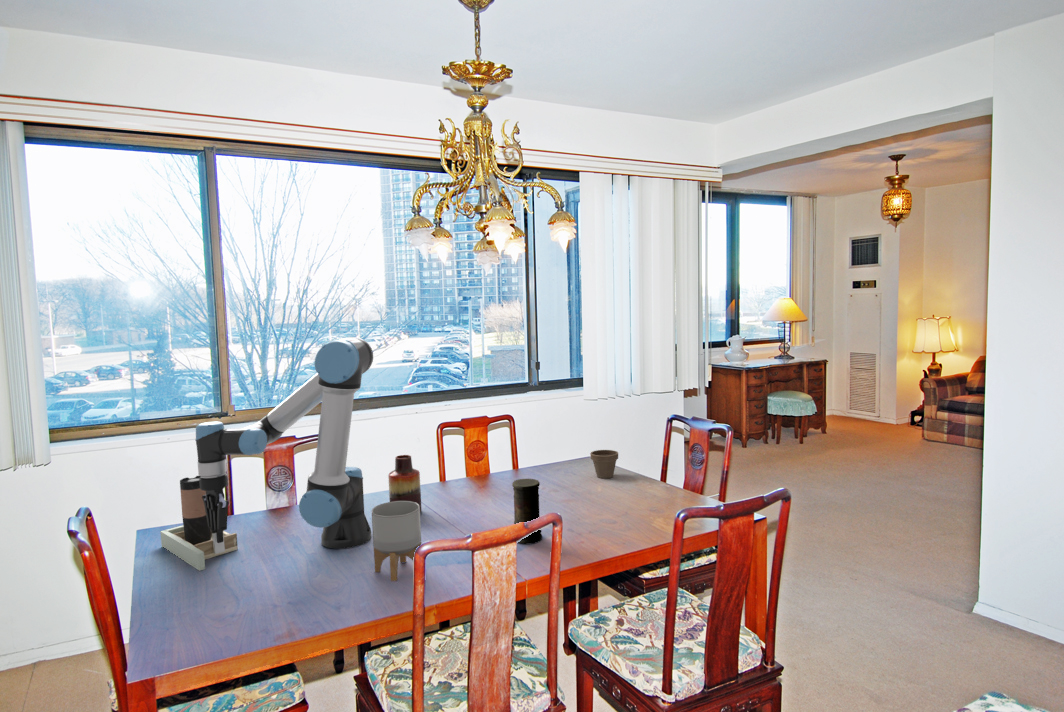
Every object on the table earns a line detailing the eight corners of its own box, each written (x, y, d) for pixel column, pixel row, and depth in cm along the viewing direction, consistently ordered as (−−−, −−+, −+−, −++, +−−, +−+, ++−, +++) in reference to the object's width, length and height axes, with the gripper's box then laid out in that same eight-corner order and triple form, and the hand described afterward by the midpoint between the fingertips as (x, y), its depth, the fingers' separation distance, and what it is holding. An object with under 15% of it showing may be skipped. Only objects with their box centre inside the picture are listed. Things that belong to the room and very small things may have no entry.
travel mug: (200, 546, 198) (195, 482, 197) (178, 545, 200) (173, 482, 198) (217, 537, 206) (212, 475, 204) (196, 536, 207) (191, 475, 206)
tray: (237, 549, 198) (236, 533, 198) (196, 562, 189) (195, 545, 189) (210, 534, 211) (209, 520, 211) (170, 546, 203) (169, 530, 202)
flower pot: (591, 472, 272) (591, 449, 271) (618, 472, 270) (618, 449, 269) (590, 480, 260) (589, 455, 259) (618, 480, 259) (618, 456, 258)
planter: (417, 580, 173) (414, 515, 171) (369, 581, 173) (365, 516, 171) (426, 560, 186) (423, 500, 184) (381, 561, 186) (378, 501, 184)
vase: (384, 517, 224) (381, 459, 222) (401, 507, 234) (398, 452, 232) (410, 520, 220) (407, 461, 218) (427, 510, 230) (424, 453, 228)
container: (512, 534, 204) (510, 478, 202) (540, 532, 204) (538, 477, 203) (513, 545, 195) (511, 487, 193) (543, 543, 196) (541, 485, 194)
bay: (251, 553, 194) (250, 537, 194) (199, 570, 183) (198, 553, 183) (211, 532, 213) (209, 518, 213) (161, 546, 202) (160, 531, 202)
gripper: (235, 475, 189) (241, 553, 191) (216, 468, 198) (222, 543, 200) (209, 481, 183) (215, 561, 185) (191, 474, 192) (197, 551, 194)
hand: (219, 552), depth 193 cm, fingers closed
